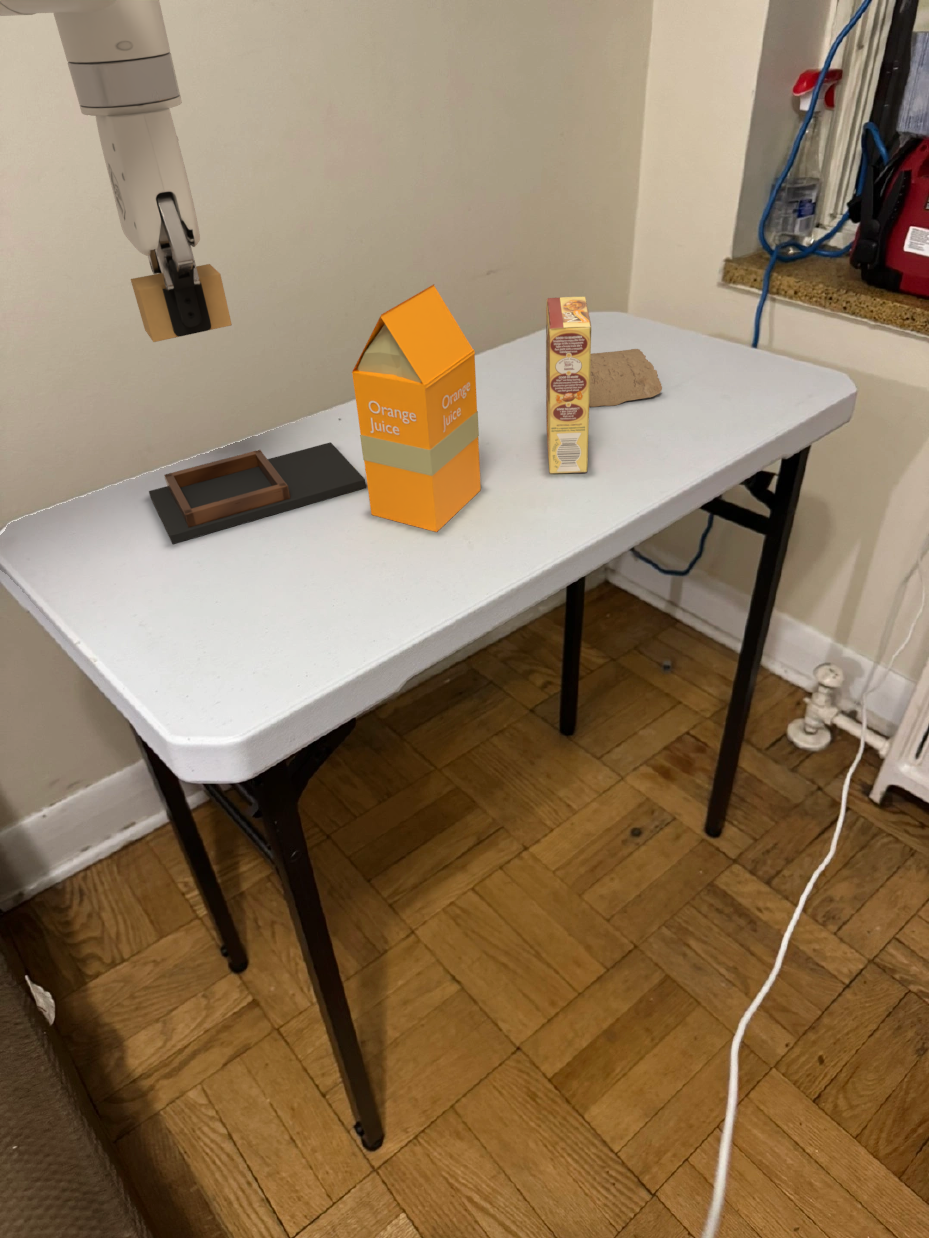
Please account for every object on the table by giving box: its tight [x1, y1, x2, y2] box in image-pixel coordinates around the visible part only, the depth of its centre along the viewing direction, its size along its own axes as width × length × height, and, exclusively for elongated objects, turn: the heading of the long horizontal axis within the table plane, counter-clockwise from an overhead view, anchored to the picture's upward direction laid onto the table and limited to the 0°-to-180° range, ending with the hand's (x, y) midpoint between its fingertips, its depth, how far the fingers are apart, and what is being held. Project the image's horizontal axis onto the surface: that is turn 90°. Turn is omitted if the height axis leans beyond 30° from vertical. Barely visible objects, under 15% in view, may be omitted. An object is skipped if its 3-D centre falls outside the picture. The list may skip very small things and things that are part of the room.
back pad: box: [148, 442, 367, 545], centre depth 88 cm, size 20×10×2 cm, turn 118°
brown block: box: [130, 263, 233, 343], centre depth 76 cm, size 4×7×4 cm, turn 118°
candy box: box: [545, 296, 592, 474], centre depth 88 cm, size 9×4×15 cm, turn 178°
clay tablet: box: [589, 348, 663, 408], centre depth 107 cm, size 14×10×3 cm
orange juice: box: [351, 283, 482, 533], centre depth 80 cm, size 8×9×20 cm
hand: (187, 323), depth 77 cm, fingers closed on brown block, 3 cm apart
